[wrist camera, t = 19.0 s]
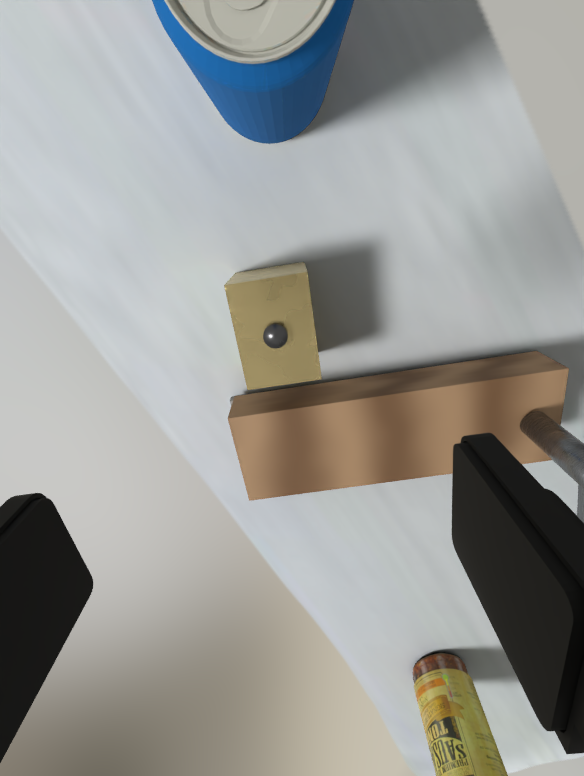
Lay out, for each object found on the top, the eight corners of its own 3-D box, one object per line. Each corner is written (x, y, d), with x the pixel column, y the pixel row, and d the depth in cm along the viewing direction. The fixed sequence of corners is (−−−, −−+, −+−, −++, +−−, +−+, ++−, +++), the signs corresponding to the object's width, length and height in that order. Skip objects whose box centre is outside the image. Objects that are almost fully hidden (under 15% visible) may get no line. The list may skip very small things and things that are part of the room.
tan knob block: (303, 261, 25) (307, 272, 20) (316, 352, 28) (322, 382, 23) (235, 272, 25) (223, 286, 20) (254, 361, 28) (247, 392, 23)
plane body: (537, 347, 28) (575, 367, 24) (528, 429, 30) (560, 458, 27) (230, 393, 29) (221, 419, 25) (249, 468, 32) (244, 501, 28)
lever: (514, 415, 25) (602, 494, 18) (552, 407, 25) (656, 482, 18) (521, 580, 31) (588, 685, 24) (551, 575, 31) (627, 679, 24)
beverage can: (342, 22, 20) (407, -207, 9) (308, 160, 23) (328, 108, 12) (220, -20, 19) (134, -326, 8) (200, 126, 22) (113, 39, 11)
